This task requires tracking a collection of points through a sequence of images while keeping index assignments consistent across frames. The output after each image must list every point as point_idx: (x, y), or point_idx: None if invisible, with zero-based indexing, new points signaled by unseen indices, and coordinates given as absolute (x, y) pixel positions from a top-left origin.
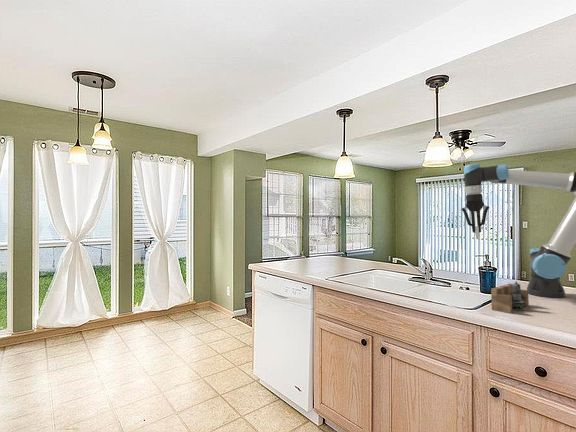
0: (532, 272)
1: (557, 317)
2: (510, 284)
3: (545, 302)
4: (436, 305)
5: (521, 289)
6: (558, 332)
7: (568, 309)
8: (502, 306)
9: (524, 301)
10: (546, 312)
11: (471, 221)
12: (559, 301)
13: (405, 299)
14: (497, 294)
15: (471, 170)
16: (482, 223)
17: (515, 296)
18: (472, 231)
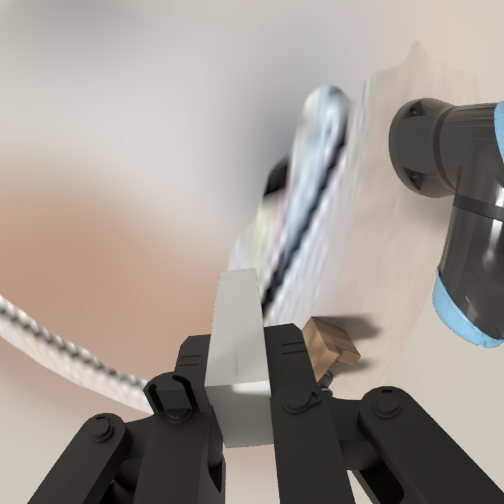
0: (446, 160)
1: (365, 388)
2: (323, 365)
3: (398, 266)
4: (138, 401)
5: (347, 352)
6: None
7: (415, 317)
8: None
9: (330, 381)
10: (362, 365)
11: (137, 486)
12: (431, 237)
13: (64, 371)
14: None
15: None
16: (357, 467)
17: None
18: (182, 352)
